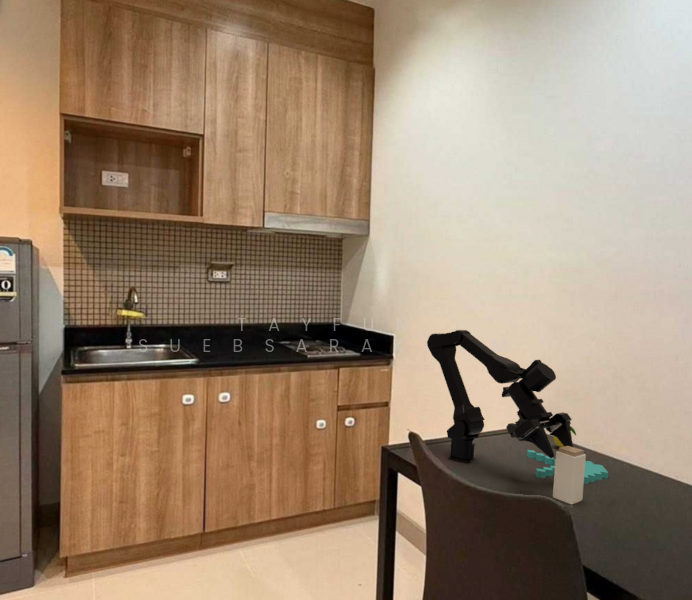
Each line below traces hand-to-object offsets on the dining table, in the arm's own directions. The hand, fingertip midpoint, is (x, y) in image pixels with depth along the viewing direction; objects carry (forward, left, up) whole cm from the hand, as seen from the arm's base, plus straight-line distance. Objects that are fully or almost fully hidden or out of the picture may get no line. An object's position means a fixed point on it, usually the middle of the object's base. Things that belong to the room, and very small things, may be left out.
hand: (562, 454), depth 133 cm
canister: (+2, -1, -10) cm, 11 cm away
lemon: (-2, +45, -11) cm, 46 cm away
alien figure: (+1, +23, -11) cm, 26 cm away
